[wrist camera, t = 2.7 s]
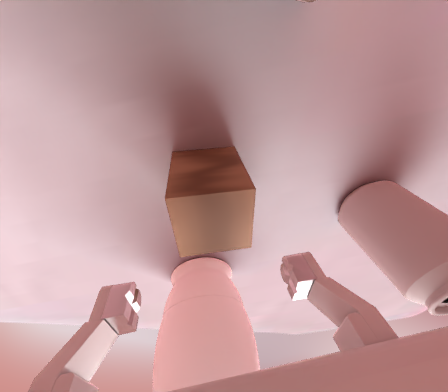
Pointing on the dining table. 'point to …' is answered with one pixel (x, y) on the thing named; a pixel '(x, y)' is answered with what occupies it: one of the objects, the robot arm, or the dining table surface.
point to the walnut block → (210, 201)
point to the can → (401, 240)
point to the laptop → (306, 0)
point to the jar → (203, 329)
